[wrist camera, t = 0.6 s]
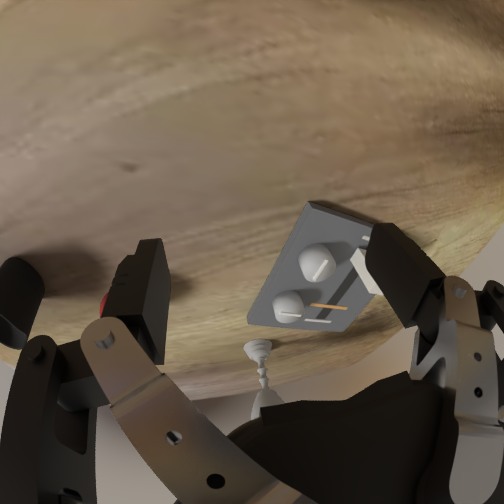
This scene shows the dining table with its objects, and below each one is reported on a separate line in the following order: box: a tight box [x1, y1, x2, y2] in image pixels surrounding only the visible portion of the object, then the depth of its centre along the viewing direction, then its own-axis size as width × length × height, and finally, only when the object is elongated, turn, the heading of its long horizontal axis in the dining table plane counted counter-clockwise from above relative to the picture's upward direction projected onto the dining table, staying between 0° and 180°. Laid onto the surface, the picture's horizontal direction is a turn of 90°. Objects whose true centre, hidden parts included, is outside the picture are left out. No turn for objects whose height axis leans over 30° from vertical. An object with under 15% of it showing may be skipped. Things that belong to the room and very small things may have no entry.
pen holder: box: [0, 258, 44, 350], centre depth 26 cm, size 9×9×10 cm
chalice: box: [244, 339, 285, 420], centre depth 39 cm, size 7×7×18 cm
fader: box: [350, 248, 384, 295], centre depth 32 cm, size 2×5×6 cm, turn 70°
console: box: [247, 201, 375, 332], centre depth 36 cm, size 20×18×4 cm
